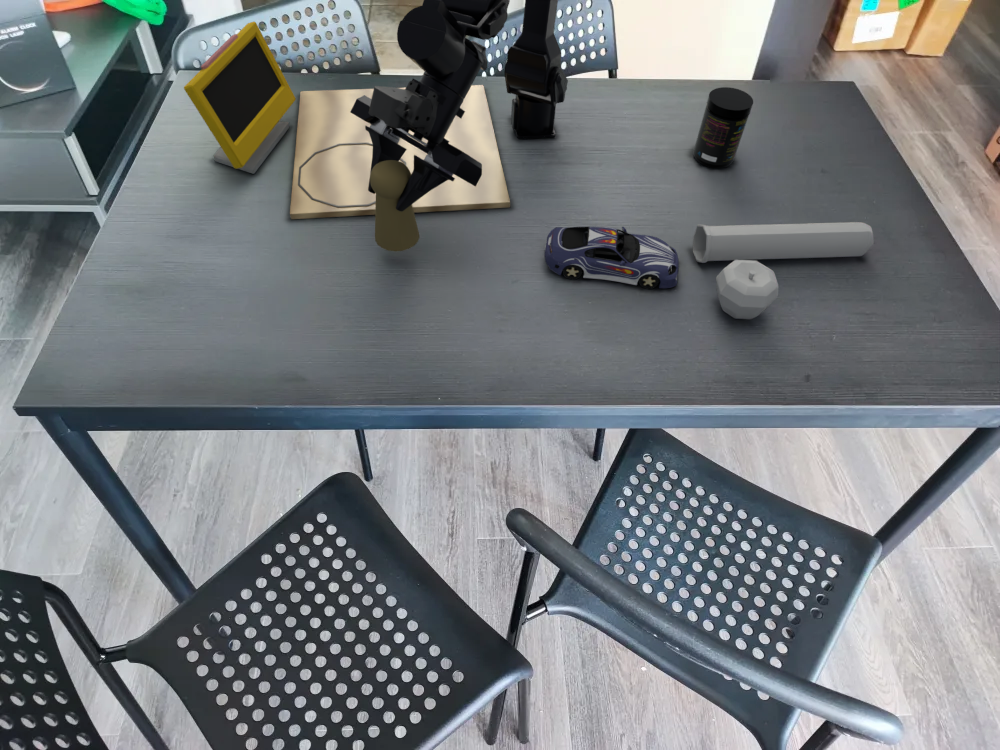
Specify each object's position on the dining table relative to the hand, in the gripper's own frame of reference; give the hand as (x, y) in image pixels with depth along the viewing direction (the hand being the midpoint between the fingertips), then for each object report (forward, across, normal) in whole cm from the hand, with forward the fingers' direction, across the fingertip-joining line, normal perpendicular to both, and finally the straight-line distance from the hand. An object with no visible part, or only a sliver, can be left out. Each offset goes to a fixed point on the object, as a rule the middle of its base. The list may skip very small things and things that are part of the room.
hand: (384, 201), depth 89 cm
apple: (-11, +40, +25) cm, 48 cm away
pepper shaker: (+4, 0, +6) cm, 7 cm away
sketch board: (-6, -19, +20) cm, 29 cm away
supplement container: (-30, +19, +45) cm, 57 cm away
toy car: (-7, +22, +21) cm, 32 cm away
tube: (-21, +38, +35) cm, 56 cm away
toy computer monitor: (+5, -36, +9) cm, 37 cm away
